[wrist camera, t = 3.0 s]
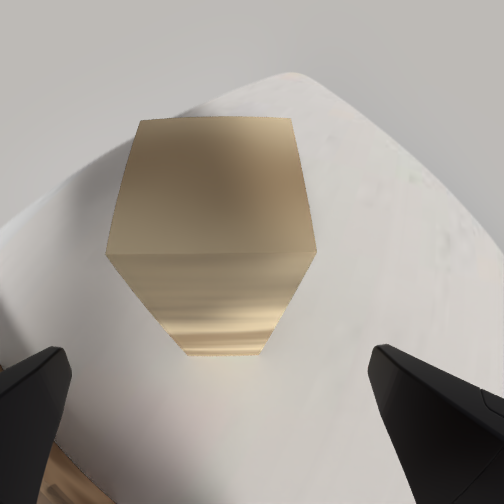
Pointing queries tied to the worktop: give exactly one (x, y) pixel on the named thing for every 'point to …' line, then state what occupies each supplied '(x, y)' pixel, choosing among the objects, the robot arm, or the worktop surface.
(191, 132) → the oak block
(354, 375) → the worktop surface
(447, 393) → the robot arm
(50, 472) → the box
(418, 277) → the worktop surface
